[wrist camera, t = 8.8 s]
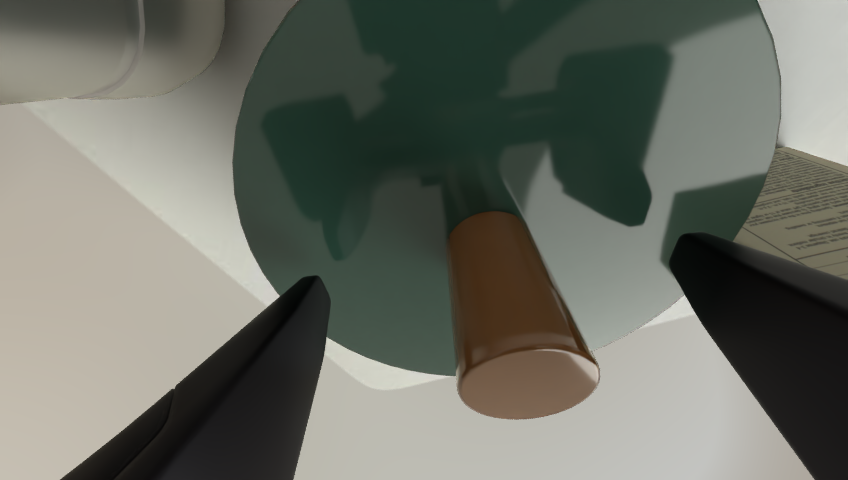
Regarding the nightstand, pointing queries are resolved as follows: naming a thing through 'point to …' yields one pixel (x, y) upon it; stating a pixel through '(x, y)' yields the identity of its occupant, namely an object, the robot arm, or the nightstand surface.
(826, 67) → the nightstand surface
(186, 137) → the nightstand surface
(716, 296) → the robot arm
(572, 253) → the lid
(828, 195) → the cosmetic box
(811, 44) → the nightstand surface
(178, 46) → the silver bottle
